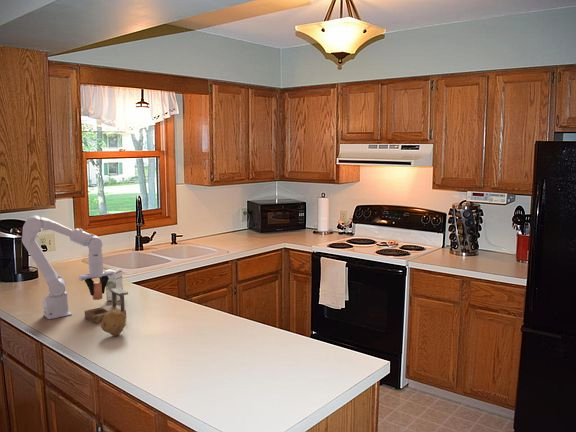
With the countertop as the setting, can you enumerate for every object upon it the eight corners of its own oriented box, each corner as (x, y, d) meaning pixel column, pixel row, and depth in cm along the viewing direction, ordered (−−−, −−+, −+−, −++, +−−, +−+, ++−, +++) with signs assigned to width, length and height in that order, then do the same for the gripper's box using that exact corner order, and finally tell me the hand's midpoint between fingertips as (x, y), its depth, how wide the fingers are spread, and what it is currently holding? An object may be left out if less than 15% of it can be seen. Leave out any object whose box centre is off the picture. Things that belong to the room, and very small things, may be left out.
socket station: (94, 324, 212) (92, 299, 210) (84, 317, 220) (83, 293, 218) (129, 316, 221) (128, 292, 220) (119, 310, 229) (118, 287, 228)
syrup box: (124, 298, 248) (122, 268, 246) (116, 301, 242) (115, 271, 240) (113, 297, 249) (112, 267, 247) (106, 300, 243) (104, 270, 242)
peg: (94, 300, 226) (93, 284, 225) (91, 298, 229) (90, 282, 228) (103, 298, 229) (103, 283, 228) (100, 296, 232) (99, 281, 231)
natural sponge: (100, 341, 193) (99, 315, 192) (102, 332, 202) (101, 308, 200) (126, 338, 196) (125, 312, 194) (127, 330, 204) (125, 305, 203)
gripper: (82, 267, 219) (83, 299, 221) (115, 262, 228) (117, 293, 230) (76, 265, 224) (78, 295, 226) (109, 260, 234) (110, 289, 235)
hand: (97, 294), depth 229 cm, fingers closed on peg, 4 cm apart
